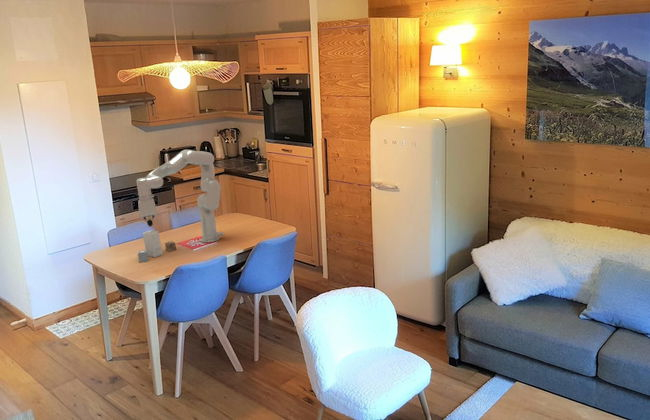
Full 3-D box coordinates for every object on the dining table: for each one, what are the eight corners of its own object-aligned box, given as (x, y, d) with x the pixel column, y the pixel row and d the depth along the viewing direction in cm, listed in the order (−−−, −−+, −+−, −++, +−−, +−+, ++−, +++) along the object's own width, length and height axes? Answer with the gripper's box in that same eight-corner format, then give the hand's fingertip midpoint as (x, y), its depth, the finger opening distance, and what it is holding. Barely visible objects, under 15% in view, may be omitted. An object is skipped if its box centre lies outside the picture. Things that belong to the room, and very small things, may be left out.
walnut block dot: (173, 248, 366) (172, 240, 365) (176, 249, 362) (175, 242, 361) (166, 250, 363) (164, 242, 362) (168, 251, 359) (167, 244, 358)
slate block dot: (148, 258, 348) (147, 249, 347) (147, 261, 344) (146, 252, 342) (140, 260, 348) (138, 250, 346) (139, 262, 343) (137, 253, 341)
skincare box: (163, 254, 355) (159, 231, 351) (155, 257, 350) (151, 234, 346) (153, 252, 359) (150, 229, 355) (145, 256, 354) (142, 232, 350)
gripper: (157, 194, 351) (162, 222, 356) (132, 198, 346) (137, 226, 350) (158, 197, 344) (163, 225, 349) (133, 201, 339) (138, 229, 344)
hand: (150, 226), depth 350 cm, fingers closed
